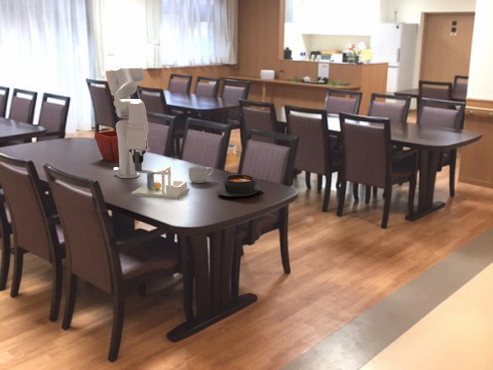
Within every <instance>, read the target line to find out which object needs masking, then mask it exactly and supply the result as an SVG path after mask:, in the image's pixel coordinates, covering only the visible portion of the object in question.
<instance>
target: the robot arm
mask: <svg viewBox="0 0 493 370" xmlns="http://www.w3.org/2000/svg"><path fill="white" fill-rule="evenodd" d="M107 77H108V78H107V79H108V83H109V86H110V88H111V91H112V93H113V94H114V95H113V96H114V97H113V98H114V106H115V110H116V114H117V117H118V118H120V120H119V121H117V122H116V123H115V130H116V131H117V136H118V147H119V161H118V162H119V164H118V165H119V167H116V166H115V167H113V172H117V173H116V176H117V178H121V179H134V178H138V177H140V175H141V173H137V172H136V171H135V157H134V152H136V151H140V156H139V163H142V164H143V163H144V155H145V154H146V153H148V152H149V151H151V149H150V147H149V141H148V140H149V139H148V134H149V122H148V116H147V110H146V104H145V102H144V101H143V100H142V99H140V98H139V99H138V98H135V99H133V98H131V96H132V95H134V93H136V92H137V88H138V87H137V85H138V84H141V83H143V82H144V81H145V77H146V76H145V71H144V69H143V68H142V66H139V65H138V66H137V65H135V66H134V65H133V66H129V65H128V66H124V65H123V66H120V67H119V68H113V69H110V70H109V71H108V73H107Z"/></svg>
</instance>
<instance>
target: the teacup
mask: <svg viewBox="0 0 493 370" xmlns="http://www.w3.org/2000/svg"><path fill="white" fill-rule="evenodd" d="M187 169H188V170H187V171H188V178H189V181H191V182H192V183H193V184H202V183H203V184H204V183H205V182H206V181H207V180H208V179H209V178H210V176H211V175H212V174H213V173H214V168H213V167H211V166H209V167H208V166H201V165H200V166H198V165H197V166H192V167H191V166H190V167H189V168H187ZM209 170H210V172H209Z"/></svg>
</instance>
